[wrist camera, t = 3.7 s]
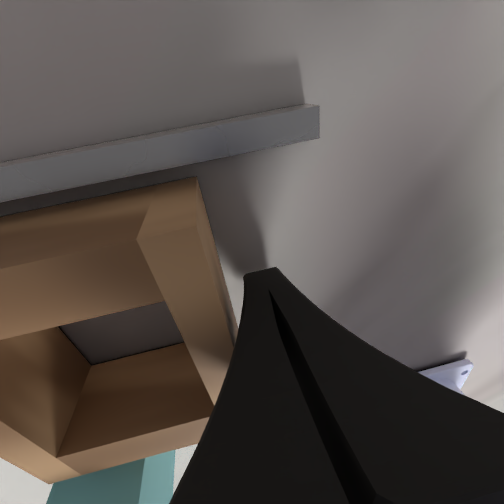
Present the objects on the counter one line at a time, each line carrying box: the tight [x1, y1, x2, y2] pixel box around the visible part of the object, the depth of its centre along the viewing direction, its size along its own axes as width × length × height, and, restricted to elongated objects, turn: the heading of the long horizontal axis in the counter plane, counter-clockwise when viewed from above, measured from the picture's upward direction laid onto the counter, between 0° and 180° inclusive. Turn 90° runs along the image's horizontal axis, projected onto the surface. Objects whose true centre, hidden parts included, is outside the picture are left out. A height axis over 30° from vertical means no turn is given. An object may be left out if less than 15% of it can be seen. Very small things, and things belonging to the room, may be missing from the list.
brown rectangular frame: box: [0, 176, 238, 484], centre depth 9 cm, size 9×8×4 cm
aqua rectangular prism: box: [46, 450, 175, 504], centre depth 12 cm, size 4×4×6 cm
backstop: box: [0, 104, 319, 202], centre depth 9 cm, size 12×16×4 cm
